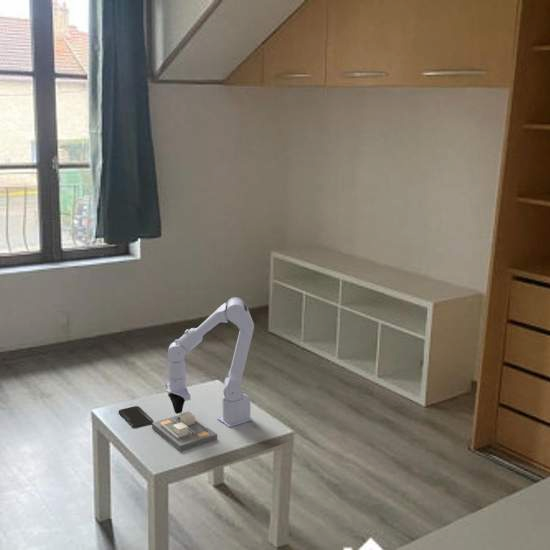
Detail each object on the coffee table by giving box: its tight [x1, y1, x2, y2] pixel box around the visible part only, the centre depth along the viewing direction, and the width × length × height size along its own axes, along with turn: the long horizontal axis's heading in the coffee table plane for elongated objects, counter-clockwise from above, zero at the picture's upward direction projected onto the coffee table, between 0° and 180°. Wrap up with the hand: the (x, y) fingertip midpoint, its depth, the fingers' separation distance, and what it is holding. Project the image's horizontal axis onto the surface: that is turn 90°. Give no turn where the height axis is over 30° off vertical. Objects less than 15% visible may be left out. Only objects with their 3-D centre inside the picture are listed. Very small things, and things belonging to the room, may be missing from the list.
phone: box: [118, 405, 154, 429], centre depth 258 cm, size 8×1×15 cm
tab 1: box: [179, 411, 196, 426], centre depth 249 cm, size 4×4×3 cm
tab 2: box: [173, 422, 188, 438], centre depth 241 cm, size 4×4×3 cm
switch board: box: [151, 414, 218, 452], centre depth 245 cm, size 14×20×3 cm
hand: (178, 412), depth 254 cm, fingers closed
